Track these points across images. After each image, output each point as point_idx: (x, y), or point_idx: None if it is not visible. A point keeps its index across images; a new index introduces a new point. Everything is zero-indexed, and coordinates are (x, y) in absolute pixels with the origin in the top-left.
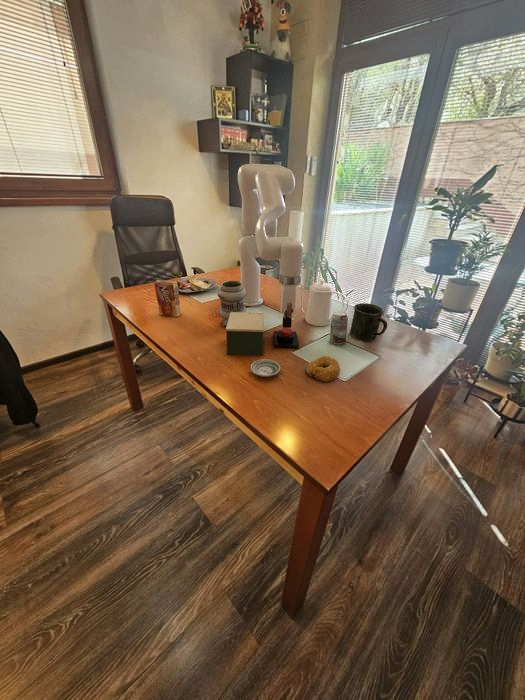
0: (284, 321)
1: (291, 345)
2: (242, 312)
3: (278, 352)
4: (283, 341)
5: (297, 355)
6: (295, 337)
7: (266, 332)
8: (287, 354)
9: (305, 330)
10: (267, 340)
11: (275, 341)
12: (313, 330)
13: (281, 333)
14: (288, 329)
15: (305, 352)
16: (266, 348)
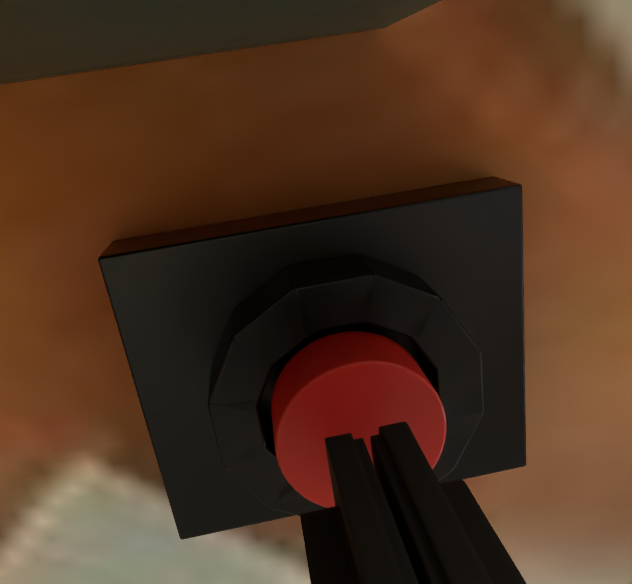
0: (351, 558)
1: (160, 463)
2: None
3: (23, 309)
4: (211, 367)
5: (37, 513)
6: None
7: (551, 57)
8: (17, 415)
9: (618, 508)
10: (311, 111)
11: (191, 258)
12: (619, 574)
13: (308, 358)
14: None
15: (133, 572)
16: (73, 133)
